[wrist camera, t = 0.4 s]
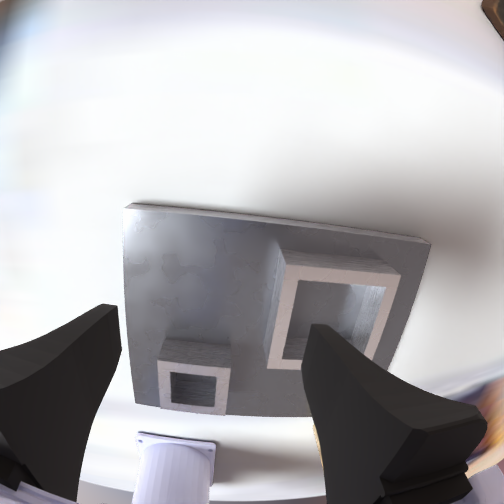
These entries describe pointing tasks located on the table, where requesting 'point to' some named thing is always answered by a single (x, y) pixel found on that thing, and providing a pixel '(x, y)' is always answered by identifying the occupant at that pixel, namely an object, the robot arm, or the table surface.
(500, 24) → the religious icon
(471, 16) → the table surface
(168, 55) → the table surface
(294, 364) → the socket plate
